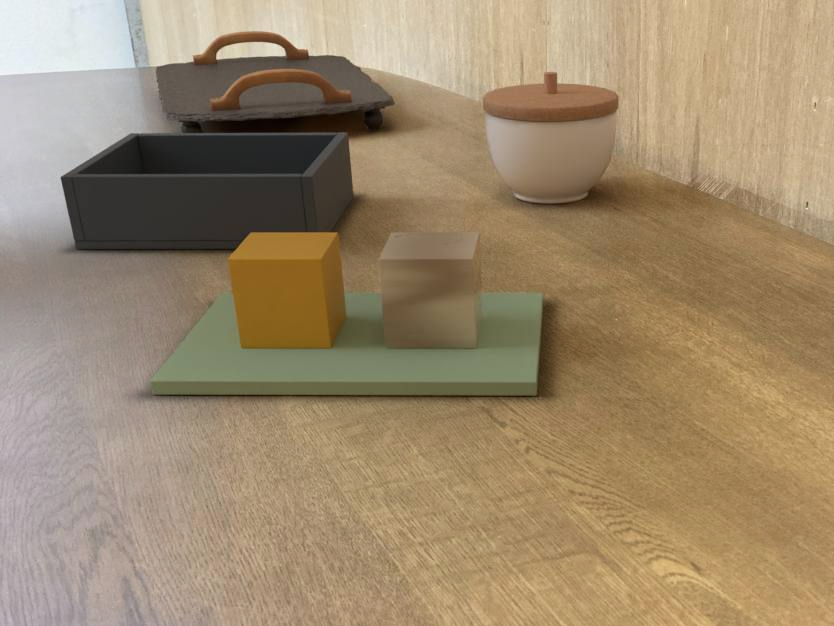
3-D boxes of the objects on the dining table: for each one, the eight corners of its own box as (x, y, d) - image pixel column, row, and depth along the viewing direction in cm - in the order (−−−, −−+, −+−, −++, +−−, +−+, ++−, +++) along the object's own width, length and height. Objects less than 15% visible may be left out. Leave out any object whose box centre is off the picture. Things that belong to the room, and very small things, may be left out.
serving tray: (157, 87, 140) (147, 32, 137) (344, 76, 146) (339, 23, 143) (169, 152, 108) (157, 83, 105) (407, 134, 114) (403, 68, 111)
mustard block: (240, 348, 63) (227, 258, 60) (262, 317, 67) (250, 232, 64) (331, 348, 62) (321, 259, 60) (346, 317, 67) (338, 232, 64)
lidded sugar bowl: (465, 188, 96) (460, 68, 91) (576, 173, 100) (577, 58, 95) (521, 218, 88) (519, 89, 83) (640, 200, 92) (645, 76, 87)
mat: (152, 395, 59) (149, 380, 59) (223, 304, 71) (221, 292, 71) (536, 396, 59) (536, 381, 58) (543, 304, 71) (543, 292, 70)
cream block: (385, 348, 62) (378, 258, 60) (397, 317, 67) (391, 232, 64) (476, 348, 62) (472, 258, 60) (482, 317, 67) (479, 231, 64)
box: (75, 249, 82) (59, 176, 79) (142, 197, 94) (130, 133, 92) (319, 249, 81) (311, 176, 79) (353, 196, 94) (348, 132, 91)
